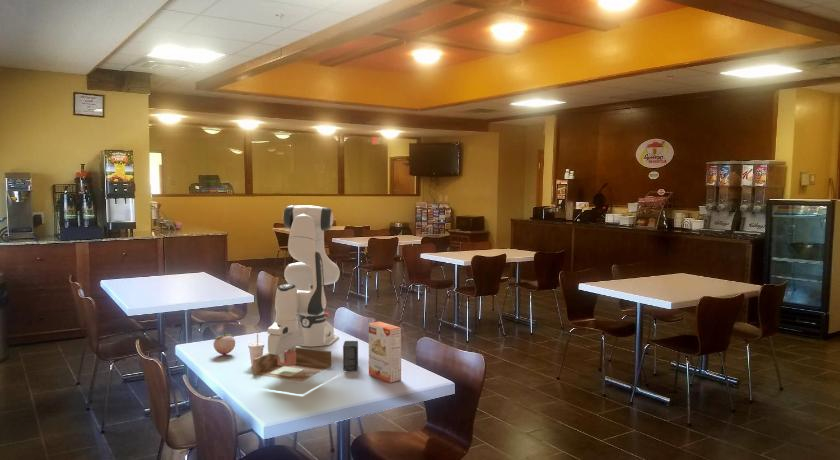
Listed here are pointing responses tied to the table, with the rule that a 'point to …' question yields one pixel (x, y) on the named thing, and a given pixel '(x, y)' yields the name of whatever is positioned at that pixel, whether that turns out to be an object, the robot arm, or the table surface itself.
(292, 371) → the pad
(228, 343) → the decorative fruit
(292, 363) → the block
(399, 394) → the table surface
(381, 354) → the cracker box
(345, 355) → the box
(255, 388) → the table surface
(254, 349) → the smoothie
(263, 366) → the arena
